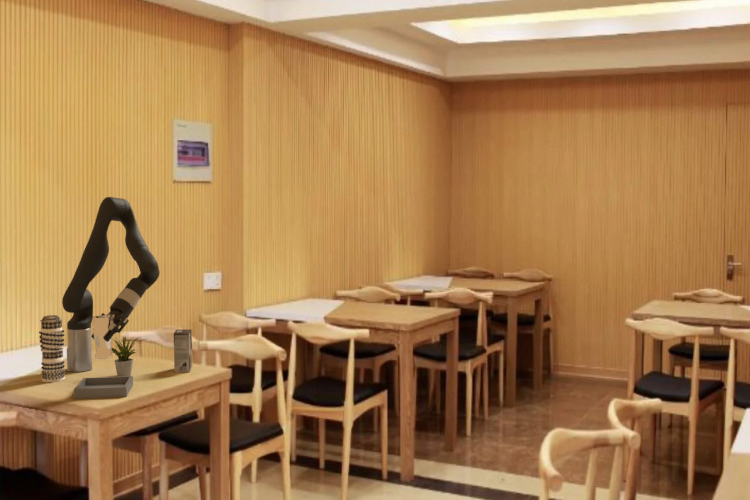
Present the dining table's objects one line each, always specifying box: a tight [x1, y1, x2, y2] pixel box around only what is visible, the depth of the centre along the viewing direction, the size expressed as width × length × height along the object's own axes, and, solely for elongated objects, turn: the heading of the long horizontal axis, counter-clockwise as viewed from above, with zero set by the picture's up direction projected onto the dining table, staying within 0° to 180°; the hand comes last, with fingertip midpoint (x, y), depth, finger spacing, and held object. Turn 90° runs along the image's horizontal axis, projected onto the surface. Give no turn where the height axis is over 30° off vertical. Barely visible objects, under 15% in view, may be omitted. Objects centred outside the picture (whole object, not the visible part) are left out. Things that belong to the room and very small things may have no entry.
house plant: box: [111, 335, 141, 377], centre depth 338 cm, size 14×14×16 cm
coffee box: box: [173, 328, 193, 373], centre depth 347 cm, size 9×6×16 cm
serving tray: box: [73, 375, 134, 400], centre depth 311 cm, size 18×18×4 cm
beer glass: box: [92, 314, 113, 360], centre depth 309 cm, size 7×7×15 cm
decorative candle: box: [38, 314, 66, 383], centre depth 330 cm, size 9×9×25 cm
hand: (99, 339), depth 308 cm, fingers closed on beer glass, 6 cm apart
